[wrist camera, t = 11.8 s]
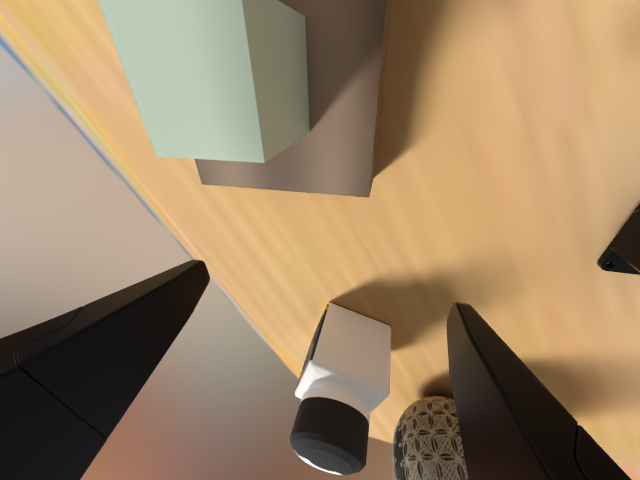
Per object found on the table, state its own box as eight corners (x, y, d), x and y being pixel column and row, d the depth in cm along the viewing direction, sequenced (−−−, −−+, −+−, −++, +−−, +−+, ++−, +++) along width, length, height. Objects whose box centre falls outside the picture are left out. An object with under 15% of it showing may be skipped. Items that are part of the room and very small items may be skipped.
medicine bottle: (328, 300, 27) (288, 429, 17) (392, 325, 26) (389, 472, 17) (312, 336, 31) (273, 457, 21) (367, 358, 30) (353, 491, 21)
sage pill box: (305, 16, 12) (238, -24, 7) (309, 132, 14) (264, 162, 10) (210, 23, 13) (95, -7, 8) (231, 130, 15) (155, 156, 11)
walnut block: (397, -65, 12) (396, -115, 9) (373, 176, 19) (368, 197, 16) (187, -34, 15) (129, -64, 12) (231, 167, 21) (201, 184, 18)
